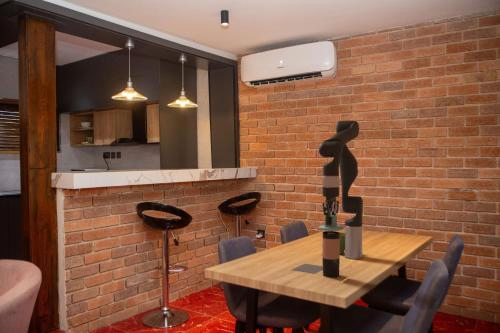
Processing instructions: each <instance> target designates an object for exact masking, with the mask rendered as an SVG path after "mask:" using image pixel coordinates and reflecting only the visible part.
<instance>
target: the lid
mask: <svg viewBox="0 0 500 333" xmlns="http://www.w3.org/2000/svg"><path fill="white" fill-rule="evenodd" d="M331 217H332V224H331V225H327V224H326V215H324V224H322V225H318V230H321V231H336V232H341V231H343V230H345V226H342V225H338V215H337V214H336V215H332V216H331Z"/></svg>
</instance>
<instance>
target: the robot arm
mask: <svg viewBox="0 0 500 333" xmlns="http://www.w3.org/2000/svg"><path fill="white" fill-rule="evenodd" d="M335 131H336V132H335V133H334V135H332V136H331V137H330V138H328V139H325V140H323V141H322V142H321V143H320V144H319V145H318V146H319V147H318V153H319V155H320V157H322V158H333V159H332V161H329V162H326V163H323V165H322V185H321V186H322V188H321V189H322V191H321V192H322V197H324V198H325V201H324V202H322V213H323V215H324V216H326V224H327V225H331V224H332V217H331V216H332V215H337V214H338V213H339V206H340V200H337V198H339V197H340V183H341V209H342V211H343V213H345V214H355V216H353V217H352V218H348V219H345V220H344V233H345V251H344V258H346V259H350V260H359V259H363V211H364V210H363V208H364V203H363V202H364V200H363V197H362V196H358V195H357V196H355V195H349V192H350V189H351V186H352V185H353V184H354V182H355V181H356V179H357V177H358V175H359V168H358V167H359V165H358V161H357V158H356V157H355V156H354V154H353V152H351V150H350V149H349V147H348V145H347V144H348V143H349V142H351V141H353V140H355V139H356V138H357V137H358V136H359V134H360V125H359V122H358V121H357V120H350V119H349V120H339V121H337V122H336V127H335Z"/></svg>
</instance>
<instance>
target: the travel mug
mask: <svg viewBox="0 0 500 333" xmlns="http://www.w3.org/2000/svg"><path fill="white" fill-rule="evenodd" d="M339 232H340V231H326V230H323V231H322V241H321V242H322V250H321V251H322V252H321V253H322V254H321V256H322V257H321V258H322V266H323V270H322V276H323V277H325V278H329V279H331V278H332V279H334V278H336V279H337V278H339V277H340V261H341V259H340V257H341V256H340V255H341V254H340V239H339Z"/></svg>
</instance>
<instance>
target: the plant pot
mask: <svg viewBox="0 0 500 333" xmlns="http://www.w3.org/2000/svg"><path fill="white" fill-rule="evenodd" d="M338 232H339V239H340V255H345V232H341V231H338Z"/></svg>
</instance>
